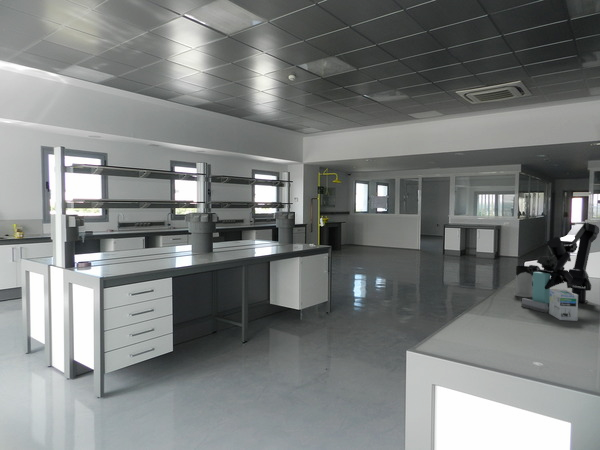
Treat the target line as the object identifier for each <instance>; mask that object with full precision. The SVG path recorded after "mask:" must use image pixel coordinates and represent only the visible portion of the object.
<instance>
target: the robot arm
mask: <svg viewBox="0 0 600 450" xmlns="http://www.w3.org/2000/svg"><path fill="white" fill-rule="evenodd" d="M599 234H600V227H599V226H598V225H597V224H592V223H590V222H588V221H575V222H574V224H573V226H572V228H571V229H570V230H569V232H568V233H567V235H565V236H563V237H560V236H554V237H553V238H550V239H549V240H548V241H547V242H546V245H547V247H548V249H549V252H550V254H551V255H553V256H543V255H539V256H538V258H537V260H536V263H538V264H540V265H541V266H540V267H541V268H540V267H539V265H534V264H529V265H528V266H529V267H528V268H527V269H528V270H529V272H530V273H531V274H532V275H533V272H542V273H548V274H550V280H549V281H548V283H547V284H546V286H545V289H548V288H550V289H552V288H553V287H556V286H557V285H560V284H564V283H566V288H567V289H571V292H572V293H574V294H577V295H578V303H580V304H586V303H588V302H589V300H588V299H587V292H588V291H592V290H591V289H592V284H591V281H590V280H589V274H588V272H587V265H588V261H589V255H590V251H591V246H592V243H593V242H594V241H595V240H596V239H597V238H598V235H599ZM578 241H579V244H578V243H577V242H578ZM576 251H577V253H576V256H575V263H574V265H573V268H569V269H568V270H567V269H565V265H566V264H567V263H568V262H572V259H571V255H570V253H571V254H573V253H575V252H576ZM532 286H533V282H532Z"/></svg>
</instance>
